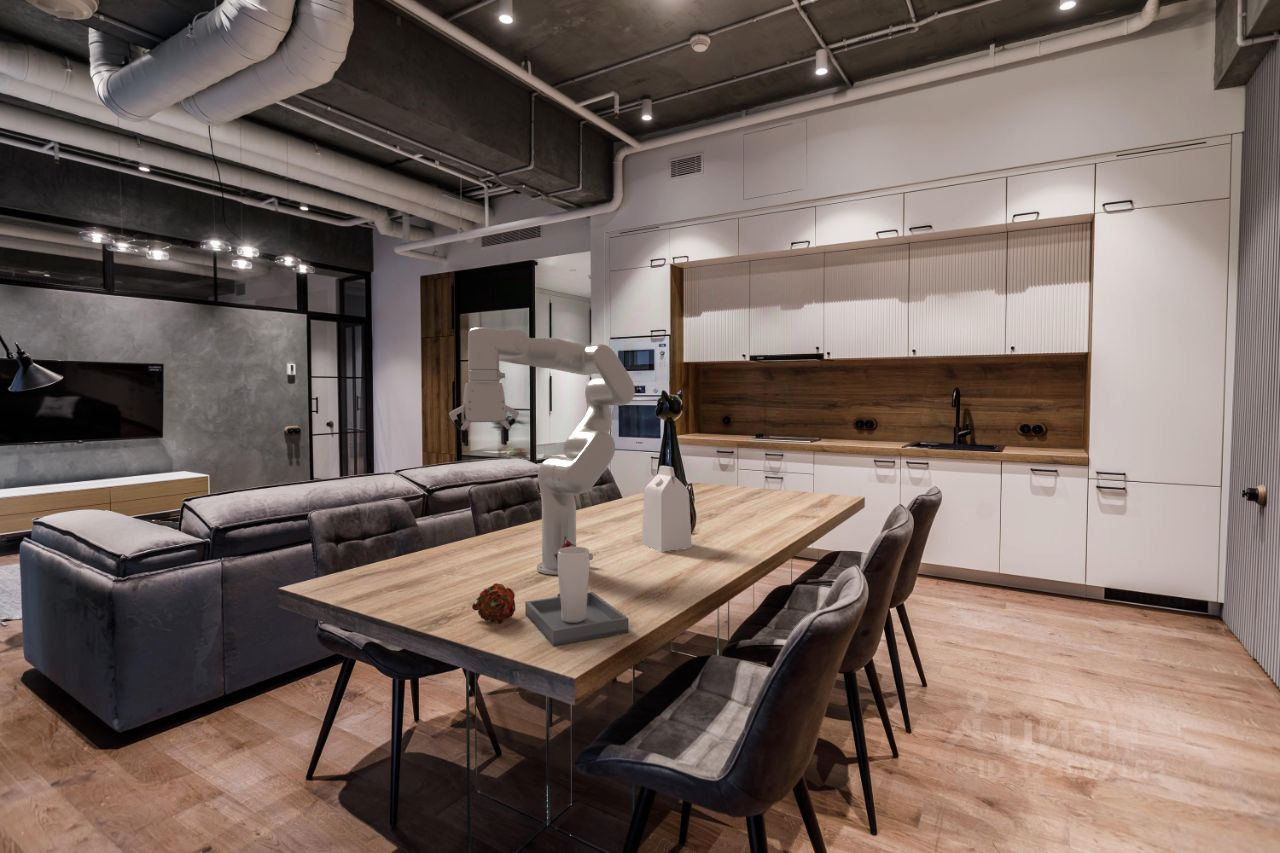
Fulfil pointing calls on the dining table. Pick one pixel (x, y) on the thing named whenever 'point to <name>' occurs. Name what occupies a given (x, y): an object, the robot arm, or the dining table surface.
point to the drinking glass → (573, 583)
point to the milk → (666, 513)
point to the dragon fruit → (495, 603)
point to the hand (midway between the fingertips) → (485, 445)
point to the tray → (559, 632)
